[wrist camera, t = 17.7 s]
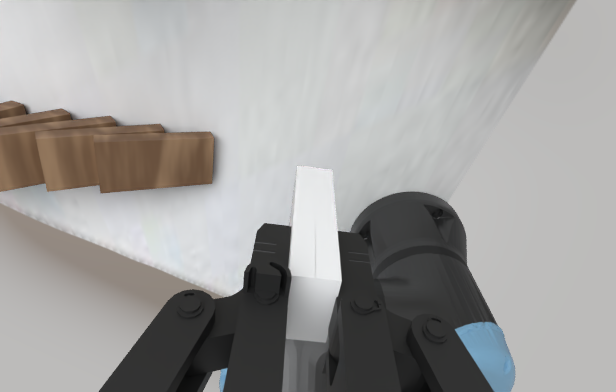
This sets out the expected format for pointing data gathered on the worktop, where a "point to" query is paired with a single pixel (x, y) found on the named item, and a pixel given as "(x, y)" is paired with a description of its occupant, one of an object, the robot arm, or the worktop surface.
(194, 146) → the loose domino
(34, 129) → the domino
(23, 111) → the domino
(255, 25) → the worktop surface
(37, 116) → the domino
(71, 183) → the domino
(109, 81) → the worktop surface
